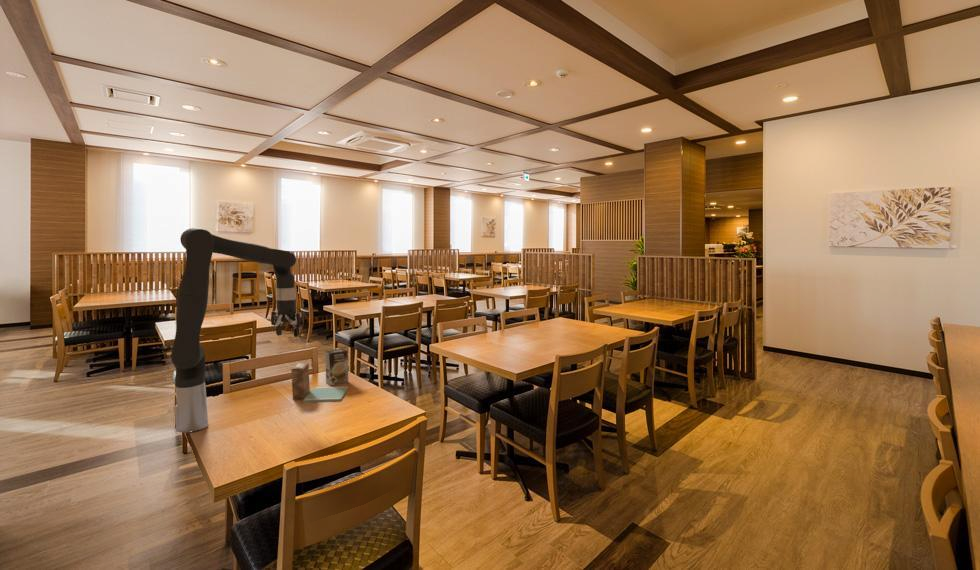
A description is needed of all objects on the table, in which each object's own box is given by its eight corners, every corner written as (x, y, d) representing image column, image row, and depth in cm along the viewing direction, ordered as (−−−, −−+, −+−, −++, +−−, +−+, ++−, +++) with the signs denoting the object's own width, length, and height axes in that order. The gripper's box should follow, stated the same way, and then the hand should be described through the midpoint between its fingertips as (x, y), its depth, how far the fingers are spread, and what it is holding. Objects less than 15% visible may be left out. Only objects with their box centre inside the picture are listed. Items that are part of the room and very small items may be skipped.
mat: (302, 402, 189) (302, 400, 189) (313, 389, 205) (313, 387, 205) (340, 400, 191) (340, 398, 191) (348, 388, 207) (348, 386, 207)
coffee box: (330, 386, 210) (329, 353, 208) (325, 382, 215) (324, 350, 213) (349, 382, 216) (347, 350, 214) (344, 378, 220) (343, 347, 219)
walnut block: (292, 399, 193) (291, 368, 191) (298, 392, 201) (297, 363, 199) (304, 398, 193) (303, 368, 192) (309, 392, 201) (308, 362, 200)
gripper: (265, 298, 181) (267, 336, 183) (294, 300, 177) (296, 339, 179) (278, 296, 188) (280, 333, 190) (306, 297, 185) (308, 335, 187)
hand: (287, 335), depth 185 cm, fingers open, 8 cm apart
